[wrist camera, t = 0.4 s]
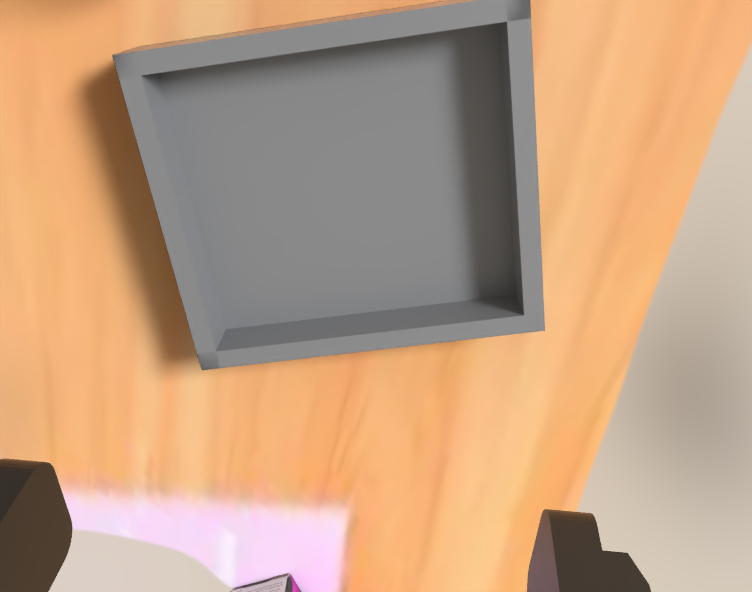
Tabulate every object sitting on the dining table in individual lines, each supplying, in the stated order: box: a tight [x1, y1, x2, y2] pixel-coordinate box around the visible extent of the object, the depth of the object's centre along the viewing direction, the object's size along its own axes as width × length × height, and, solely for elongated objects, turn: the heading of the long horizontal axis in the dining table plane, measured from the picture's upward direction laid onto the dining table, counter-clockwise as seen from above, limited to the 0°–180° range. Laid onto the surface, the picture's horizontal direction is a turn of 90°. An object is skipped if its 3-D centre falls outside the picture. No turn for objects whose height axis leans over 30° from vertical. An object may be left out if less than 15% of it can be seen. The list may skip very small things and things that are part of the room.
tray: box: [112, 0, 545, 370], centre depth 35 cm, size 16×18×4 cm
